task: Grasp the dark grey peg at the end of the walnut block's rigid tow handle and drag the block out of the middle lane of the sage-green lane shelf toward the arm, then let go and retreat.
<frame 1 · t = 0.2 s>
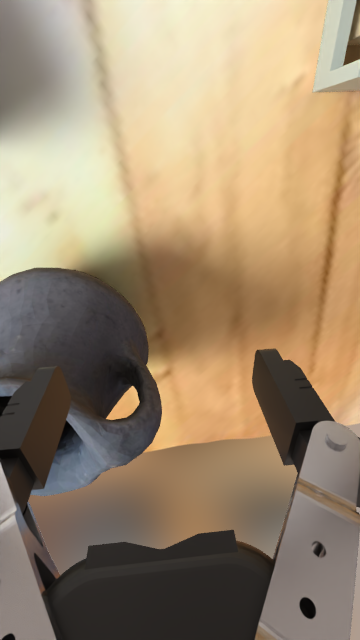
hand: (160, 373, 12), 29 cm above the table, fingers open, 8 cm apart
pitcher: (87, 307, 42), on the table
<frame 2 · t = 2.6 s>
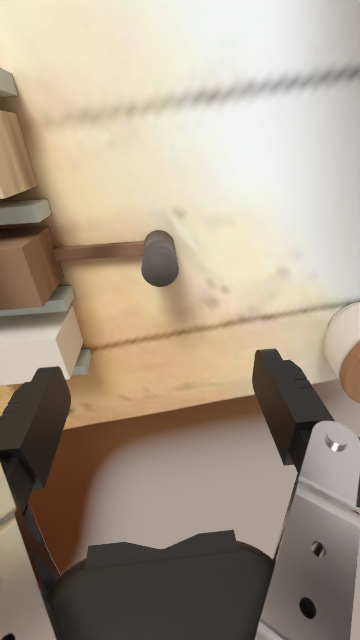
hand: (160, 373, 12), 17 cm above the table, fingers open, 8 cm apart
cream block: (45, 326, 30), on the table
tow block: (18, 255, 26), on the table
lane shelf: (7, 256, 26), on the table
lidded jar: (352, 322, 33), on the table
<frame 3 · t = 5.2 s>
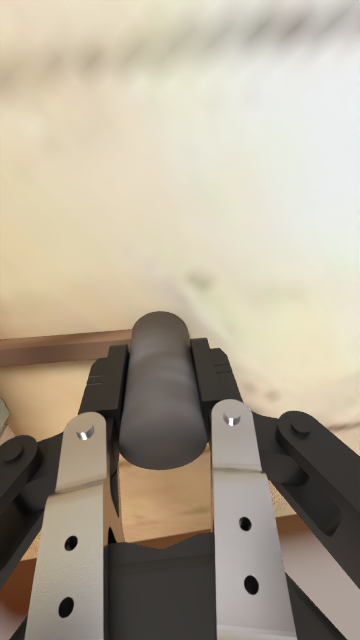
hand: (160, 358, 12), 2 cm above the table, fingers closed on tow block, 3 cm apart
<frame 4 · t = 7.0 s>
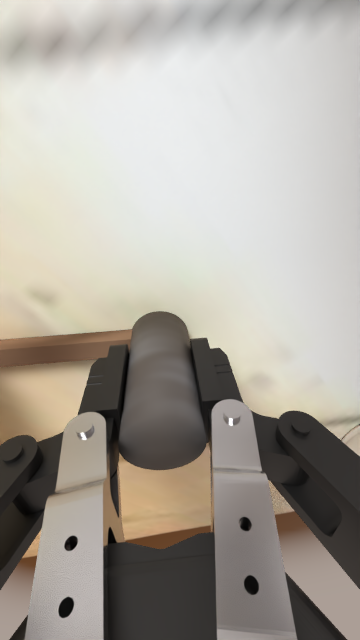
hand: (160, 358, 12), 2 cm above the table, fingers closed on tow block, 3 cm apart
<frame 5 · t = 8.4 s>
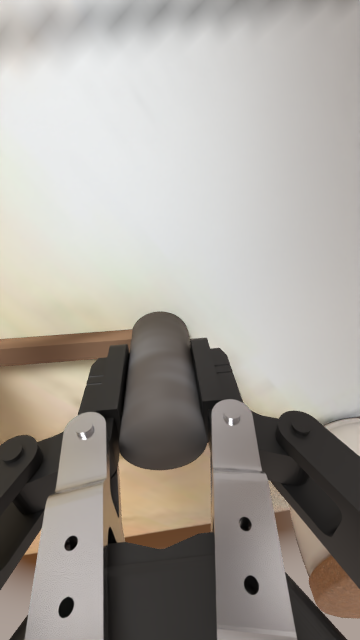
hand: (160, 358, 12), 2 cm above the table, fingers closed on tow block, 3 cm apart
lidded jar: (337, 442, 21), on the table
when the fingers open (2 cm above the table, at t = 8.8 s): tow block stays where it is, on the table.
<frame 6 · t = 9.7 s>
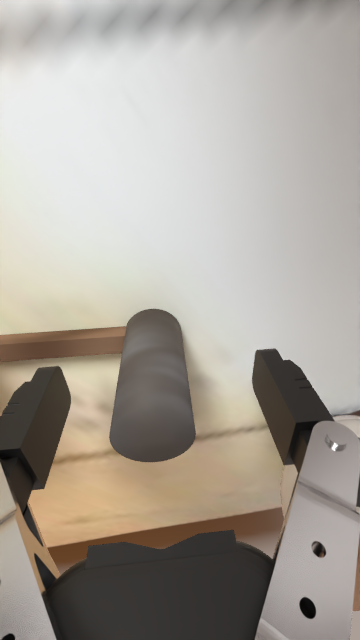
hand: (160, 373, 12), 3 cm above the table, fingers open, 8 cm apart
lidded jar: (328, 439, 21), on the table
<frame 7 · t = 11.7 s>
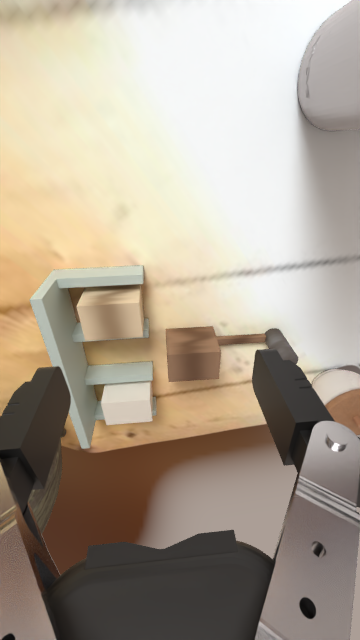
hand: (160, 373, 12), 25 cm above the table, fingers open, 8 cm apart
tabletop clock: (30, 415, 49), on the table
cream block: (130, 383, 46), on the table
oak block: (116, 298, 38), on the table
tow block: (189, 340, 43), on the table
lane shelf: (117, 346, 42), on the table
lidded jar: (328, 380, 50), on the table
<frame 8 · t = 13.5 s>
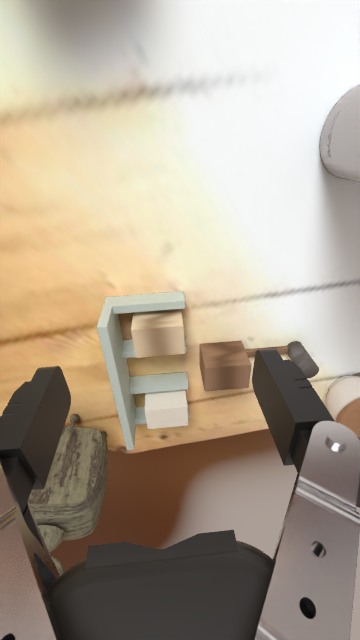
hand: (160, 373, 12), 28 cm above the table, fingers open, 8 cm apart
tabletop clock: (76, 420, 55), on the table
cream block: (165, 391, 52), on the table
oak block: (158, 319, 43), on the table
tow block: (219, 353, 48), on the table
lane shelf: (156, 359, 48), on the table
lidded jar: (343, 385, 55), on the table
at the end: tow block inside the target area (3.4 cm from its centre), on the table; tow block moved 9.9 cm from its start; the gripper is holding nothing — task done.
